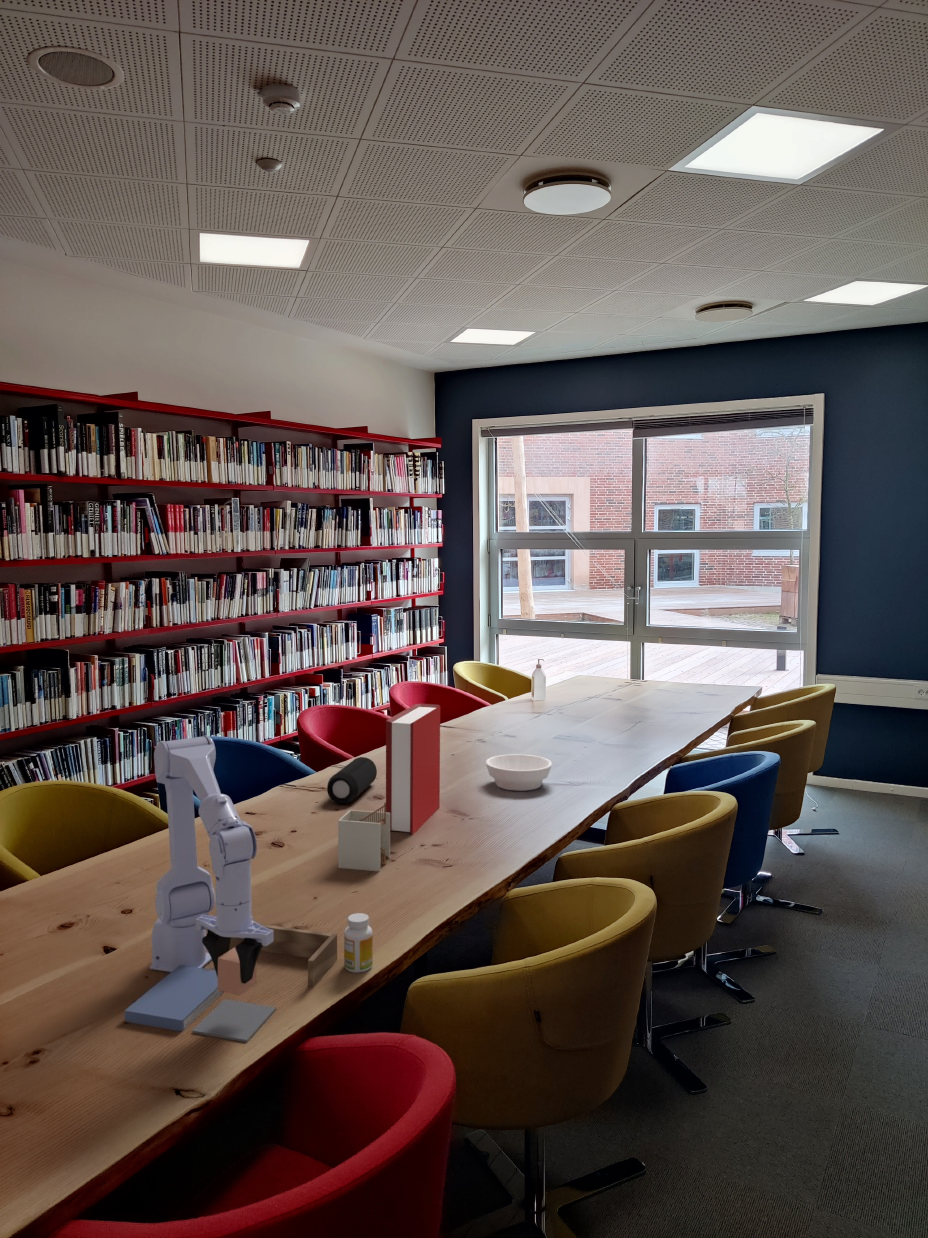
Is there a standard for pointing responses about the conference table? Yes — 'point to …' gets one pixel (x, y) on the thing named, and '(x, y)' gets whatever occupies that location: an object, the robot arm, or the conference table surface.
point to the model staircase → (364, 839)
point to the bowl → (518, 771)
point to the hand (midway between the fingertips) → (234, 977)
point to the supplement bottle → (358, 944)
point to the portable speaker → (351, 780)
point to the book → (413, 766)
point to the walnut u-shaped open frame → (302, 948)
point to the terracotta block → (233, 974)
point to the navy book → (176, 999)
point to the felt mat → (234, 1020)
